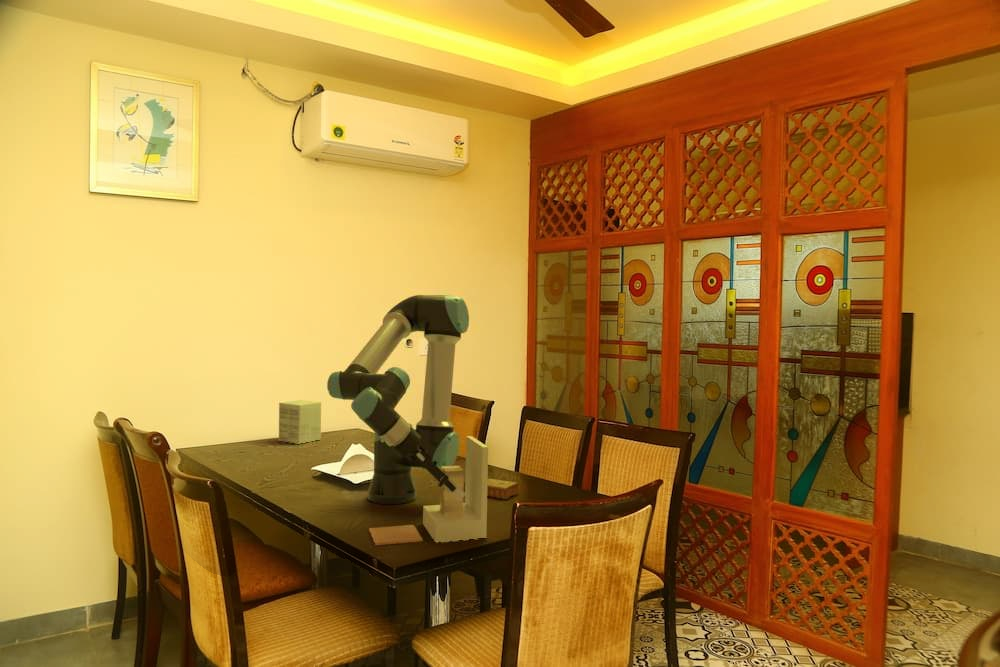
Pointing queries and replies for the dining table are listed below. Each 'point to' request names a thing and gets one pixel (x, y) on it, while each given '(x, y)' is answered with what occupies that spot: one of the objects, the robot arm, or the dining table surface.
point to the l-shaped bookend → (475, 501)
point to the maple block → (447, 501)
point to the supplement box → (299, 421)
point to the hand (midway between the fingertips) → (455, 491)
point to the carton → (501, 488)
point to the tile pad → (395, 535)
